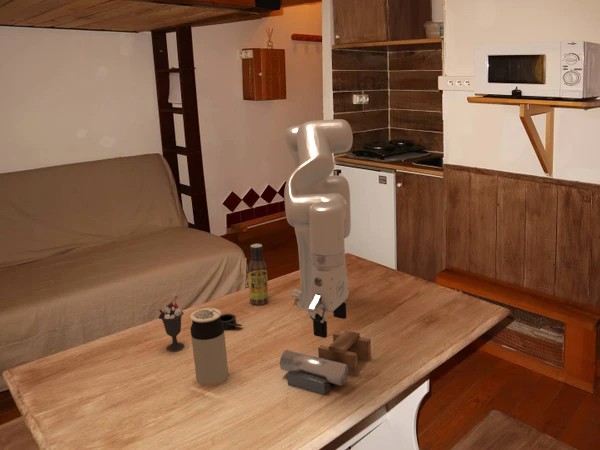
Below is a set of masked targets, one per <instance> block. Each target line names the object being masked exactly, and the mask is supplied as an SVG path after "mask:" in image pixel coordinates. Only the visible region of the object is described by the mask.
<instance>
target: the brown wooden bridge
mask: <svg viewBox="0 0 600 450" xmlns="http://www.w3.org/2000/svg"><path fill="white" fill-rule="evenodd" d="M360 334H361V333H360V332H356V331H355V332H354V331H351V330H344V331H343V332H339V331H334V332H333V334H332V343H331V344H329V346H328V345H321V344H320V345H319V346H318V348H317V350H318V357H319V358H323V359H327V360H331V361H335V362H339V363H343V364H347V366H348V376H351V377H356V376H357V375H358V374H359V373H360V372H361V371H362V370H363V368H364V367H366V365H367V364H368V363H369V361H370V360H371V359H372V351H371V350H372V347H371V346H372V345H371V341H372V339H371V338H367V337H363V336H362V337H361V335H360Z"/></svg>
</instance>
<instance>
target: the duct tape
mask: <svg viewBox="0 0 600 450" xmlns="http://www.w3.org/2000/svg"><path fill="white" fill-rule="evenodd" d="M220 320H221V321H222V322H223V324H224V331H231V330H233V329H235V328H236V327H242V326H243V324H241V323H237V317H236V315H235V314H232V313H225V314H221V316H220Z"/></svg>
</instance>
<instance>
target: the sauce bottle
mask: <svg viewBox="0 0 600 450" xmlns="http://www.w3.org/2000/svg"><path fill="white" fill-rule="evenodd" d="M249 248H250V249H249V250H250V255H251V256H250V260H249V262H248V265H247V268H248V272H247V275H248V276H247V277H248V291H249V293H248V294H249V302H250V303H251V304H252V305H257V306H258V305H259V306H261V305H264V304H267V303H268V301H269V299H268V298H269V286H268V270H267V263H266V261H265V260H264V257H263V250H264V247H263V245H262V244H261V243H253V244H251V245H250V247H249Z"/></svg>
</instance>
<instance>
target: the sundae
mask: <svg viewBox="0 0 600 450" xmlns="http://www.w3.org/2000/svg"><path fill="white" fill-rule="evenodd" d="M177 299H178V296H174V298H173V300H172V301H171V302H169V303H168V304H167V305H165V307H164V308H163V311H162V309H158V310H159V312H160V314H159V316H158V319H159V320H162V324H163V326H164V330H165V332H166V334H167V335H168V336H169V337H171V340H172V341H171V342H172V343H170V344H169V345H167V346H166V350H167V351H168V350H169V351H168V352H178V350H179V351H181V350H183V349H184V348H185V344H184V343H183V342H178V339H177V336H178V335H179V334H180V333H181V330H182V316H183V315H184V311H183V310H181V308H180V307H178V306H179V305H178V303H176V300H177ZM182 348H183V349H182Z"/></svg>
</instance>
